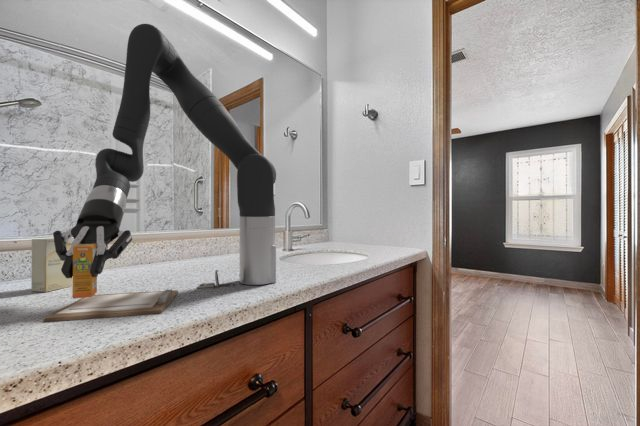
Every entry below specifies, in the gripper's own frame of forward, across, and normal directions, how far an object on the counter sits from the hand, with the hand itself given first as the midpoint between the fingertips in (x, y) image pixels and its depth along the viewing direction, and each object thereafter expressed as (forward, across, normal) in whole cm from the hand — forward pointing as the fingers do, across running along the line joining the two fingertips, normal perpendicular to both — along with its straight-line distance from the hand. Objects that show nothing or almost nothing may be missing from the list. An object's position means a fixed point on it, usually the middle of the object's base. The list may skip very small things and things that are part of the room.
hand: (80, 274), depth 56 cm
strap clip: (-3, +24, +12) cm, 27 cm away
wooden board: (+4, +6, +6) cm, 9 cm away
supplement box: (+2, 0, +5) cm, 5 cm away
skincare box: (-10, -13, +20) cm, 26 cm away
